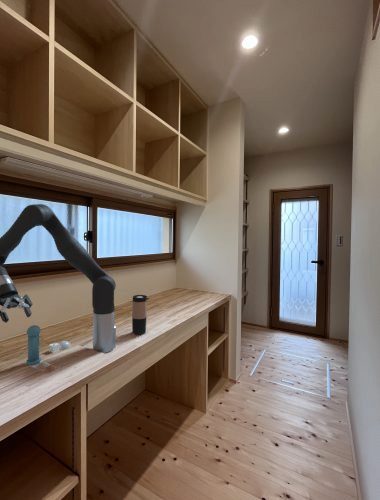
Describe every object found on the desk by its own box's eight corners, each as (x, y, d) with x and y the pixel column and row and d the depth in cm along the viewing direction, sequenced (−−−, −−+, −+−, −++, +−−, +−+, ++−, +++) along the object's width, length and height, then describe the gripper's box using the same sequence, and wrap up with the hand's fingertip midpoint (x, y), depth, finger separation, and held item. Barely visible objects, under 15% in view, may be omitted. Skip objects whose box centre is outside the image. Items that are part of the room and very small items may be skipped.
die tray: (64, 349, 118) (64, 336, 118) (75, 353, 115) (75, 340, 114) (43, 357, 110) (43, 344, 109) (54, 362, 106) (54, 348, 106)
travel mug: (129, 331, 139) (130, 295, 138) (142, 329, 143) (143, 294, 143) (135, 336, 133) (135, 298, 132) (148, 333, 137) (149, 296, 136)
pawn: (36, 358, 102) (36, 322, 102) (43, 361, 100) (43, 324, 100) (23, 363, 98) (23, 326, 98) (30, 366, 96) (30, 328, 96)
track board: (37, 360, 104) (37, 357, 104) (63, 370, 96) (63, 367, 96) (20, 367, 98) (20, 363, 98) (45, 379, 90) (46, 375, 90)
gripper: (-13, 284, 101) (2, 317, 96) (24, 280, 114) (39, 309, 109) (-19, 296, 104) (-5, 328, 99) (18, 290, 117) (32, 319, 111)
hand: (18, 318), depth 104 cm, fingers open, 8 cm apart
